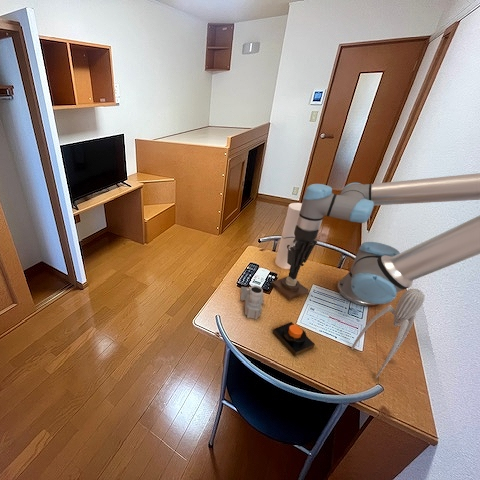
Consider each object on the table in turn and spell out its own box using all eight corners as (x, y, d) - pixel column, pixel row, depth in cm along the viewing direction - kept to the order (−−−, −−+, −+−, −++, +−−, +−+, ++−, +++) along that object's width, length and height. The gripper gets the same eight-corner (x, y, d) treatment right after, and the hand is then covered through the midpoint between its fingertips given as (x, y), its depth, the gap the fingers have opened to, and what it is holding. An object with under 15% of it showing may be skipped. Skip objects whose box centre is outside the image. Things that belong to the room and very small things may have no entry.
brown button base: (289, 279, 115) (291, 272, 113) (307, 293, 107) (309, 286, 105) (271, 285, 113) (272, 278, 110) (288, 300, 104) (290, 293, 102)
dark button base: (290, 326, 94) (292, 318, 92) (313, 348, 86) (316, 340, 84) (272, 333, 91) (274, 325, 89) (294, 356, 83) (297, 348, 81)
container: (296, 269, 121) (313, 211, 106) (276, 268, 123) (291, 210, 107) (292, 259, 128) (308, 203, 113) (273, 257, 130) (287, 202, 114)
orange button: (294, 327, 89) (295, 323, 88) (303, 336, 86) (305, 332, 85) (285, 330, 88) (286, 326, 87) (294, 340, 85) (296, 336, 84)
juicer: (404, 376, 77) (462, 302, 61) (375, 379, 76) (426, 305, 61) (376, 345, 86) (421, 275, 70) (350, 348, 85) (389, 277, 70)
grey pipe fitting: (243, 293, 92) (244, 268, 105) (239, 316, 98) (240, 291, 111) (269, 297, 90) (267, 271, 102) (264, 321, 96) (261, 294, 108)
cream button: (290, 279, 110) (291, 275, 109) (298, 284, 107) (299, 281, 106) (283, 281, 109) (284, 277, 108) (290, 287, 106) (291, 283, 105)
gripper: (312, 219, 99) (297, 268, 111) (285, 225, 95) (273, 275, 108) (329, 227, 93) (311, 278, 105) (302, 235, 89) (286, 287, 102)
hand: (292, 277), depth 107 cm, fingers closed
